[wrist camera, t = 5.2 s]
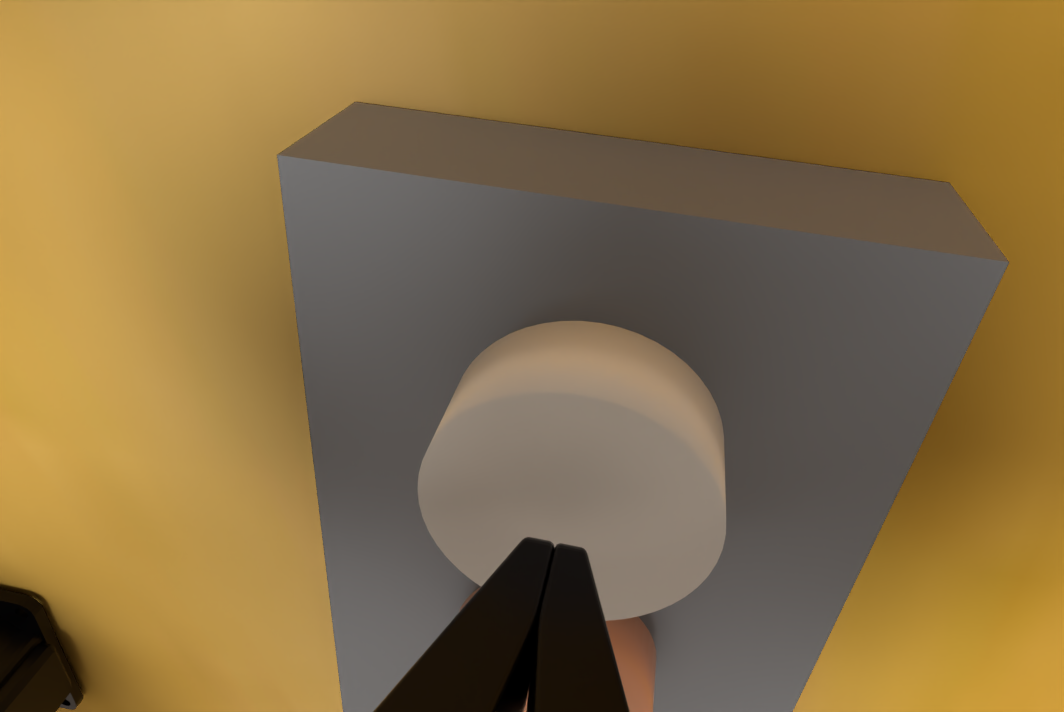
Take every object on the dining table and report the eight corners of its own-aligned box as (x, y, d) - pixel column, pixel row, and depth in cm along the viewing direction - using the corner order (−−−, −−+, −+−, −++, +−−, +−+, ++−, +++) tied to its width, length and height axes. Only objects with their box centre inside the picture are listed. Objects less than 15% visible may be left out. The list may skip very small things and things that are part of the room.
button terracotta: (455, 681, 18) (432, 754, 16) (458, 556, 15) (432, 629, 14) (639, 722, 17) (632, 802, 16) (673, 600, 15) (669, 682, 13)
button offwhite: (450, 509, 14) (418, 587, 12) (453, 298, 11) (415, 365, 10) (693, 557, 13) (692, 645, 12) (754, 348, 11) (761, 426, 9)
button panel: (388, 693, 26) (352, 788, 23) (355, 101, 14) (276, 155, 12) (711, 769, 24) (712, 878, 22) (949, 182, 13) (1009, 262, 11)
